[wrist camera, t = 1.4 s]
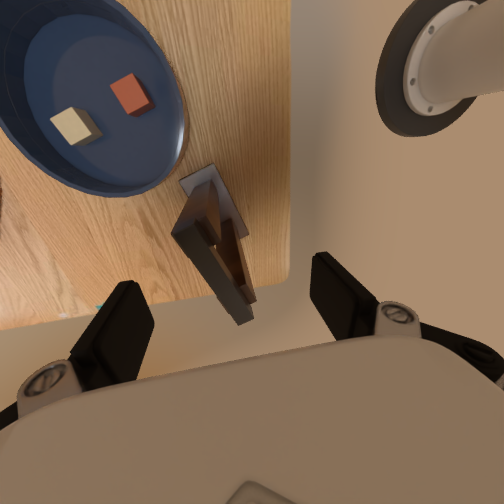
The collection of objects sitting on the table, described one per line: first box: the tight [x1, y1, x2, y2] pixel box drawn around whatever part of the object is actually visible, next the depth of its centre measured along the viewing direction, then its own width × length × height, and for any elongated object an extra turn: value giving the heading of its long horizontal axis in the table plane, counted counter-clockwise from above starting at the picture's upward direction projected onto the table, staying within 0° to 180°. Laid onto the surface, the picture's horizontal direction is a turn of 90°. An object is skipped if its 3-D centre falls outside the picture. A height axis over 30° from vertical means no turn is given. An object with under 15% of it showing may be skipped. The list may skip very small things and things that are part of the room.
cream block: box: [50, 107, 103, 145], centre depth 25 cm, size 3×3×3 cm
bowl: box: [0, 0, 189, 198], centre depth 24 cm, size 19×19×6 cm
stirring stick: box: [173, 217, 254, 326], centre depth 16 cm, size 2×10×2 cm, turn 24°
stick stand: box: [171, 163, 257, 314], centre depth 26 cm, size 6×13×20 cm, turn 24°
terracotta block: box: [110, 73, 155, 117], centre depth 25 cm, size 3×3×3 cm
